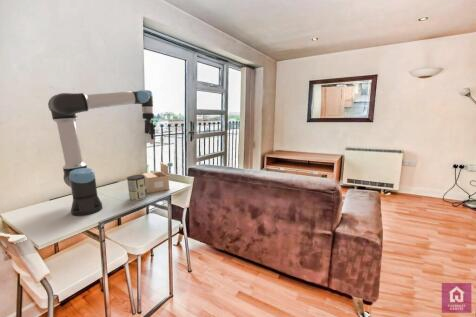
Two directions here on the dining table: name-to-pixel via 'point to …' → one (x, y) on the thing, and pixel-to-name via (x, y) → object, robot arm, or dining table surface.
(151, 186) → the carton
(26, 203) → the dining table surface
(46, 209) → the dining table surface
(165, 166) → the flap
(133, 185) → the coffee can
